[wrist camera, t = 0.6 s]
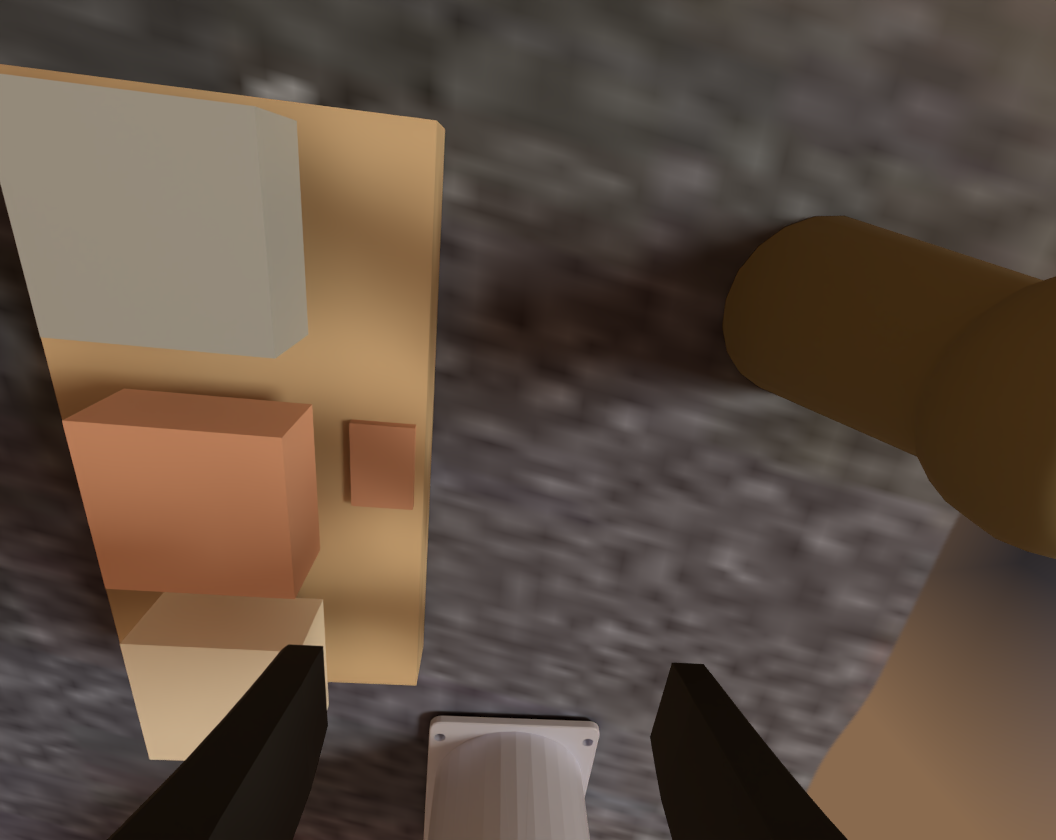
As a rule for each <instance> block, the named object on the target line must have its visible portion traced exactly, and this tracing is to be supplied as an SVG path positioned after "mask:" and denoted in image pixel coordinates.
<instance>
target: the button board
mask: <svg viewBox="0 0 1056 840" xmlns="http://www.w3.org/2000/svg"><path fill="white" fill-rule="evenodd" d="M0 74H7V75H15V76H22V77H30V78H38V79H46V80H54V81H61V82H69V83H77V84H85V85H93V86H100V87H108V88H116V89H124V90H132V91H140V92H147V93H155V94H163V95H171V96H179V97H186V98H194V99H202V100H210V101H218V102H225V103H233V104H241V105H249V106H256V107H258V108H261V109H264V110H267V111H270V112H273V113H276V114H279V115H281V116H284V117H287V118H290V119H293V120H296V121H297V136H298V154H299V173H300V191H301V209H302V227H303V245H304V263H305V282H306V300H307V318H308V335H307V336H306V337H304V338H303V339H302V340H300V341H299V342H298V343H296V344H295V345H293V346H292V347H291V348H289V349H288V350H287V351H285V352H284V353H282V354H281V355H280V356H278V357H277V358H264V357H252V356H241V355H230V354H219V353H208V352H197V351H186V350H175V349H164V348H153V347H142V346H131V345H120V344H109V343H98V342H87V341H76V340H65V339H54V338H42V337H41V340H42V344H43V347H44V351H45V355H46V359H47V363H48V367H49V371H50V374H51V378H52V382H53V386H54V390H55V394H56V398H57V402H58V405H59V409H60V413H61V417H62V420H64V419H66V418H68V417H70V416H72V415H74V414H76V413H77V412H79V411H81V410H83V409H85V408H87V407H89V406H91V405H93V404H95V403H97V402H99V401H101V400H103V399H105V398H107V397H109V396H110V395H112V394H114V393H116V392H118V391H120V390H122V389H136V390H148V391H160V392H172V393H184V394H196V395H208V396H219V397H231V398H243V399H255V400H267V401H279V402H291V403H303V404H312V409H313V427H314V445H315V463H316V481H317V500H318V518H319V536H320V552H319V553H318V555H317V557H316V559H315V561H314V563H313V565H312V567H311V569H310V571H309V573H308V575H307V577H306V579H305V581H304V583H303V585H302V587H301V588H300V590H299V592H298V594H297V596H296V598H310V599H323V609H324V627H325V645H326V663H327V681H328V682H346V683H370V684H393V685H416V684H417V678H418V673H419V667H420V662H421V656H422V650H423V640H424V616H425V593H426V569H427V545H428V522H429V498H430V474H431V450H432V427H433V403H434V379H435V356H436V332H437V308H438V284H439V261H440V237H441V213H442V190H443V166H444V142H445V129H444V128H443V127H442V126H441V125H440V123H439V122H438V121H435V120H428V119H420V118H412V117H405V116H397V115H389V114H381V113H374V112H366V111H358V110H350V109H343V108H335V107H327V106H319V105H312V104H304V103H296V102H289V101H281V100H273V99H265V98H258V97H250V96H242V95H234V94H227V93H219V92H211V91H204V90H196V89H188V88H180V87H173V86H165V85H157V84H149V83H142V82H134V81H126V80H118V79H111V78H103V77H95V76H88V75H80V74H72V73H64V72H57V71H49V70H41V69H33V68H26V67H18V66H10V65H3V64H0ZM106 591H107V595H108V599H109V603H110V606H111V610H112V614H113V618H114V622H115V626H116V630H117V633H118V637H119V641H120V643H121V642H122V641H123V640H124V638H125V637H126V636H127V635H128V634H129V632H130V631H131V630H132V629H133V628H134V627H135V625H136V624H137V623H138V622H139V621H140V620H141V618H142V617H143V616H144V615H145V614H146V613H147V611H148V610H149V609H150V608H151V607H152V605H153V604H154V603H155V602H156V601H157V600H158V598H159V597H160V596H161V595H162V594H163V593H164V592H155V591H137V590H118V589H106Z"/></svg>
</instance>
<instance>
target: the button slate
mask: <svg viewBox="0 0 1056 840" xmlns="http://www.w3.org/2000/svg"><path fill="white" fill-rule="evenodd" d="M0 184H1V188H2V191H3V195H4V199H5V203H6V207H7V211H8V215H9V218H10V222H11V226H12V230H13V234H14V238H15V242H16V245H17V249H18V253H19V257H20V261H21V265H22V269H23V272H24V276H25V280H26V284H27V288H28V292H29V296H30V299H31V303H32V307H33V311H34V315H35V319H36V323H37V326H38V330H39V334H40V337H42V338H54V339H65V340H76V341H87V342H98V343H109V344H120V345H131V346H142V347H153V348H164V349H175V350H186V351H197V352H208V353H219V354H230V355H241V356H252V357H264V358H277V357H278V356H280V355H281V354H282V353H284V352H285V351H287V350H288V349H289V348H291V347H292V346H293V345H295V344H296V343H298V342H299V341H300V340H302V339H303V338H304V337H306V336H307V335H308V318H307V300H306V282H305V263H304V245H303V227H302V209H301V191H300V173H299V154H298V136H297V121H296V120H293V119H290V118H287V117H284V116H281V115H279V114H276V113H273V112H270V111H267V110H264V109H261V108H258V107H256V106H249V105H241V104H233V103H225V102H218V101H210V100H202V99H194V98H186V97H179V96H171V95H163V94H155V93H147V92H140V91H132V90H124V89H116V88H108V87H100V86H93V85H85V84H77V83H69V82H61V81H54V80H46V79H38V78H30V77H22V76H15V75H7V74H0Z"/></svg>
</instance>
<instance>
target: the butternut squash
mask: <svg viewBox="0 0 1056 840" xmlns="http://www.w3.org/2000/svg"><path fill="white" fill-rule="evenodd" d="M722 328H723V333H724V338H725V344H726V349H727V353H728V354H729V356H730V358H731V359H732V361H733V362H734V364H735V366H736V367H737V369H738V371H739V372H740V373H741V374H742V375H743V376H745V377H746V378H747V379H749V380H750V381H751V382H753V383H754V384H755V385H757V386H758V387H760V388H762V389H764V390H767V391H769V392H771V393H774V394H776V395H778V396H780V397H783V398H785V399H787V400H790V401H792V402H794V403H796V404H799V405H801V406H803V407H805V408H808V409H810V410H812V411H815V412H817V413H819V414H821V415H824V416H826V417H828V418H830V419H833V420H835V421H837V422H840V423H842V424H844V425H846V426H849V427H851V428H853V429H855V430H858V431H860V432H862V433H865V434H867V435H869V436H871V437H874V438H876V439H878V440H880V441H883V442H885V443H887V444H890V445H892V446H894V447H896V448H899V449H901V450H903V451H905V452H908V453H910V454H912V455H915V456H917V457H918V459H919V461H920V463H921V465H922V467H923V469H924V471H925V473H926V475H927V477H928V479H929V481H930V482H931V483H932V485H933V486H934V487H935V489H936V490H937V491H938V492H939V494H940V495H941V496H942V497H943V499H944V500H945V501H946V502H947V503H949V504H950V505H951V506H952V507H954V508H955V509H956V510H958V511H959V512H960V513H961V514H963V515H964V516H965V517H967V518H968V519H969V520H971V521H972V522H973V523H975V524H976V525H978V526H979V527H980V528H982V529H983V530H984V531H986V532H987V533H988V534H990V535H992V536H993V537H994V538H996V539H998V540H1000V541H1003V542H1005V543H1008V544H1010V545H1013V546H1015V547H1018V548H1020V549H1023V550H1025V551H1028V552H1032V553H1036V554H1039V555H1043V556H1047V557H1051V558H1054V559H1056V277H1053V278H1050V279H1047V280H1044V281H1043V280H1040V279H1037V278H1034V277H1031V276H1028V275H1025V274H1022V273H1019V272H1016V271H1013V270H1010V269H1007V268H1003V267H1000V266H997V265H994V264H991V263H988V262H985V261H982V260H979V259H976V258H973V257H970V256H966V255H963V254H960V253H957V252H954V251H951V250H948V249H945V248H942V247H939V246H936V245H933V244H930V243H926V242H923V241H920V240H917V239H914V238H911V237H908V236H905V235H902V234H899V233H896V232H893V231H890V230H886V229H883V228H880V227H877V226H874V225H871V224H868V223H865V222H862V221H859V220H856V219H853V218H850V217H846V216H815V217H812V218H809V219H806V220H804V221H801V222H798V223H795V224H792V225H789V226H787V227H785V228H783V229H782V230H780V231H779V232H778V233H776V234H775V235H773V236H772V237H771V238H769V239H768V240H766V241H765V242H764V243H762V244H761V245H759V246H758V247H757V249H756V250H755V251H754V252H753V254H752V255H751V256H750V257H749V258H748V260H747V261H746V262H745V263H744V265H743V266H742V267H741V268H740V269H739V271H738V273H737V275H736V277H735V280H734V282H733V284H732V286H731V289H730V291H729V293H728V295H727V298H726V302H725V310H724V317H723V325H722Z"/></svg>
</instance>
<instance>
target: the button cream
mask: <svg viewBox="0 0 1056 840" xmlns="http://www.w3.org/2000/svg"><path fill="white" fill-rule="evenodd" d="M288 644H291V645H312V646H323V651H324V668H325V686H326V704H327V709H328V706H329V700H328V681H327V663H326V645H325V627H324V609H323V599H310V598H295V599H283V598H265V597H247V596H228V595H210V594H192V593H173V592H164V593H163V594H162V595H161V596H160V597H159V598H158V600H157V601H156V602H155V603H154V604H153V605H152V607H151V608H150V609H149V610H148V611H147V613H146V614H145V615H144V616H143V617H142V618H141V620H140V621H139V622H138V623H137V624H136V625H135V627H134V628H133V629H132V630H131V631H130V632H129V634H128V635H127V636H126V637H125V638H124V640H123V641H122V642H121V643H120V647H121V651H122V654H123V658H124V662H125V666H126V670H127V674H128V678H129V681H130V685H131V689H132V693H133V697H134V701H135V705H136V708H137V712H138V716H139V720H140V724H141V728H142V732H143V735H144V739H145V743H146V747H147V751H148V755H149V759H150V760H184V761H185V760H186V759H187V758H188V757H189V755H190V754H191V753H192V752H193V751H194V750H195V749H196V748H197V747H198V746H199V744H200V743H201V742H202V741H203V740H204V739H205V738H206V737H207V736H208V735H209V734H210V732H211V731H212V730H213V729H214V728H215V727H216V726H217V725H218V724H219V723H220V721H221V720H222V719H223V718H224V717H225V716H226V715H227V714H228V712H229V711H230V710H231V709H232V708H233V707H234V706H235V704H236V703H237V702H238V701H239V700H240V699H241V697H242V696H243V695H244V694H245V693H246V692H247V690H248V689H249V688H250V687H251V686H252V685H253V683H254V682H255V681H256V680H257V679H258V677H259V676H260V675H261V674H262V673H263V671H264V670H265V669H266V668H267V667H268V665H269V664H270V663H271V662H272V661H273V659H274V658H275V657H276V656H277V654H278V653H279V652H280V651H281V650H282V649H283V648H284V647H285V646H287V645H288Z"/></svg>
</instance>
